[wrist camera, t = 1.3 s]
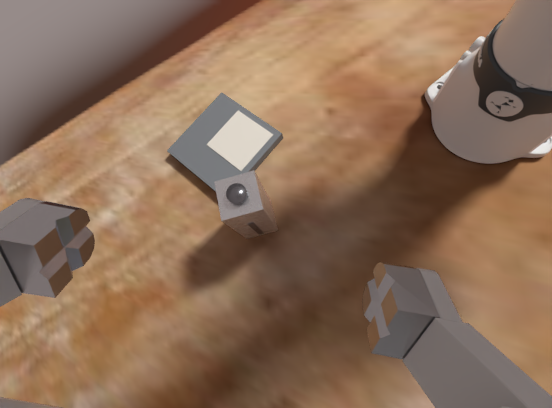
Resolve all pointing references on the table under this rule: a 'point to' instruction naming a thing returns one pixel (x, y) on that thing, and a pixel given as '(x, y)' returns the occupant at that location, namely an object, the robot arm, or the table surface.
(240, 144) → the dock board
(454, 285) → the table surface
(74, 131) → the table surface
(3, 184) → the table surface
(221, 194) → the aluminium block
